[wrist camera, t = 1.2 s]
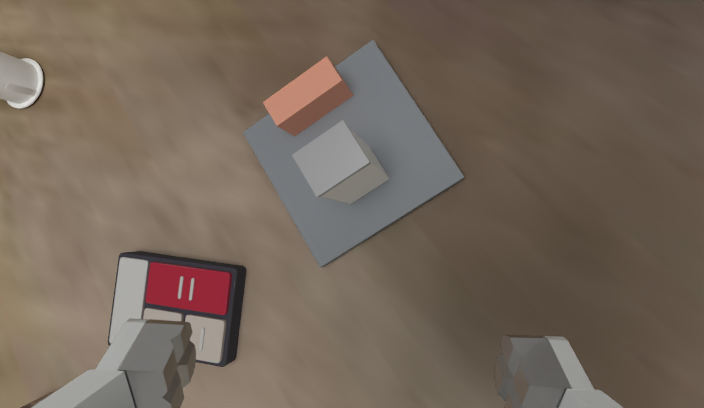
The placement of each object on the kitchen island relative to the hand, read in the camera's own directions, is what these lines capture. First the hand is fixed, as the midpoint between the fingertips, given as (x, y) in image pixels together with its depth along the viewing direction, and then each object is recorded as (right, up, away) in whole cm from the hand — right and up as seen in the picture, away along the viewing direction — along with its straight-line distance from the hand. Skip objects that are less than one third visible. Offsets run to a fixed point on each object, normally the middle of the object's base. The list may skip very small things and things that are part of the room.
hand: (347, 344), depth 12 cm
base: (0, +9, +38) cm, 39 cm away
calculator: (-20, -8, +42) cm, 48 cm away
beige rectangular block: (+1, +7, +36) cm, 37 cm away
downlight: (-45, +20, +50) cm, 70 cm away
